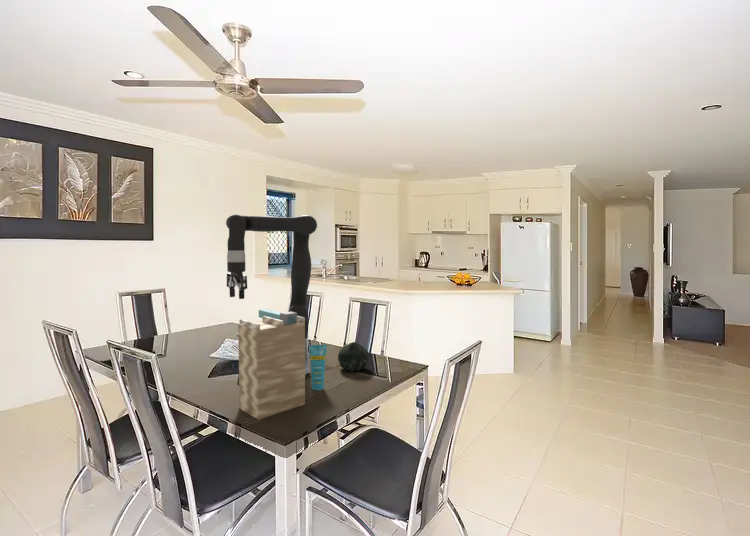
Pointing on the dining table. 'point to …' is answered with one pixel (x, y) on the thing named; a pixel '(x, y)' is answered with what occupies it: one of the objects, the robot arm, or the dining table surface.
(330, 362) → the dining table surface
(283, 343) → the notched wooden tower
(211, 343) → the dining table surface
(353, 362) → the squash
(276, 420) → the dining table surface
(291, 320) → the bar
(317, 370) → the tube
